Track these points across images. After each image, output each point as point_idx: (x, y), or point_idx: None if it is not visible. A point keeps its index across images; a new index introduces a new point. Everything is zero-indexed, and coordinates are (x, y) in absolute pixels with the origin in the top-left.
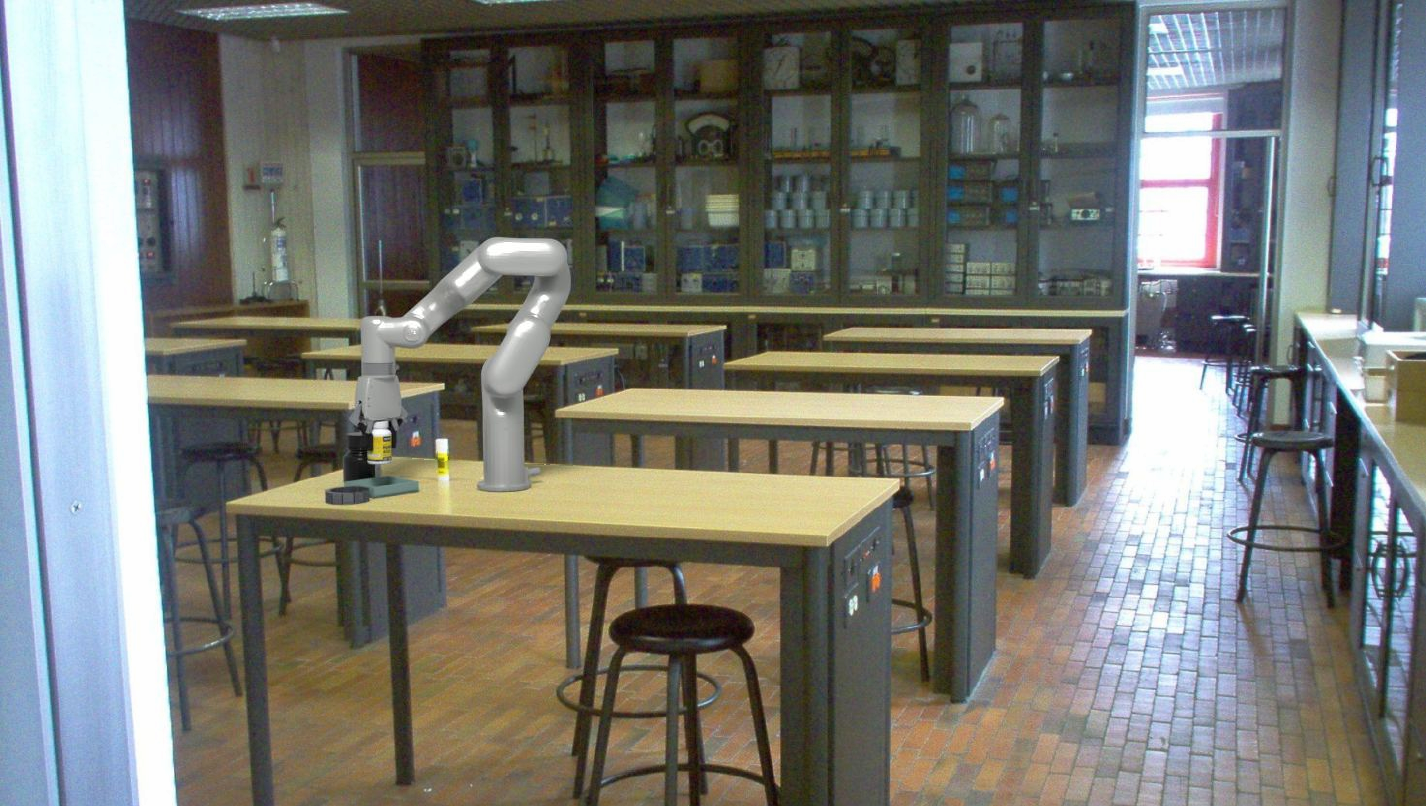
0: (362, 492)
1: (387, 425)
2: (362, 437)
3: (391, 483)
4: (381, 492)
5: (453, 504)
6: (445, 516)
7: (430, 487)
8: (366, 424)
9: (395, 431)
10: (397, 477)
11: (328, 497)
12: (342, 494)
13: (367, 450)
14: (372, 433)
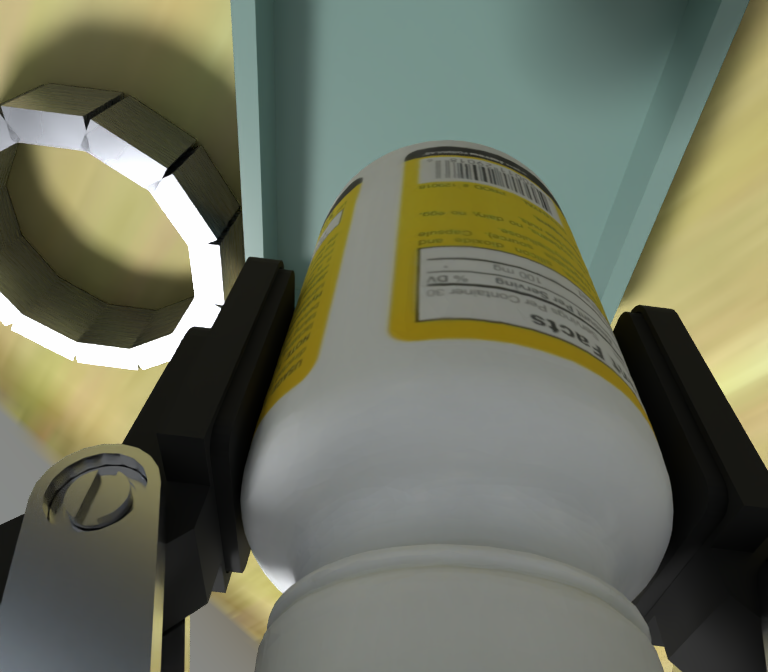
0: (131, 366)
1: None
2: (142, 417)
3: (676, 45)
4: None
5: None
6: (256, 631)
7: (761, 276)
8: (148, 652)
9: (656, 640)
10: (677, 144)
11: None
12: (15, 320)
13: (313, 264)
14: (223, 591)
